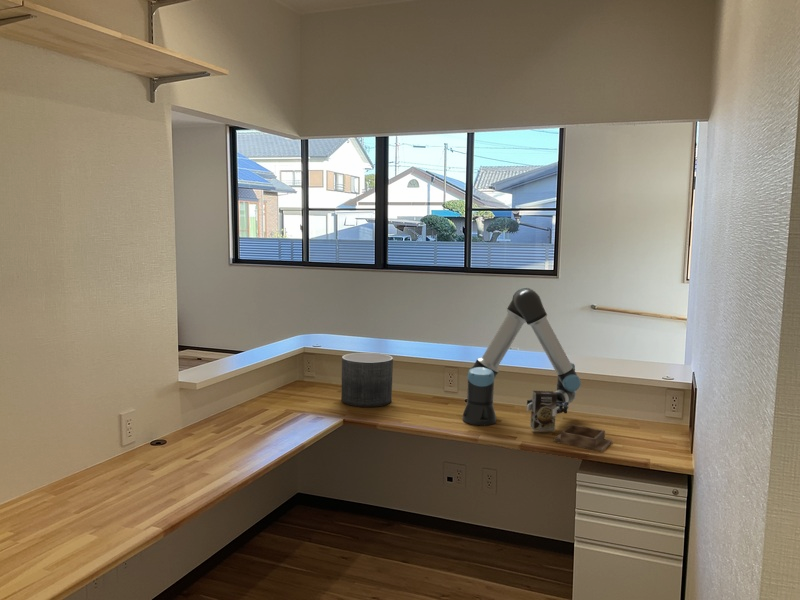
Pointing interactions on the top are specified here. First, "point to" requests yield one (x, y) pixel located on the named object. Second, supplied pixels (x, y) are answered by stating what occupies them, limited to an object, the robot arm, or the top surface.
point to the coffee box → (543, 410)
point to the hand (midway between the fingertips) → (540, 410)
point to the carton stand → (584, 438)
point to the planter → (367, 379)
